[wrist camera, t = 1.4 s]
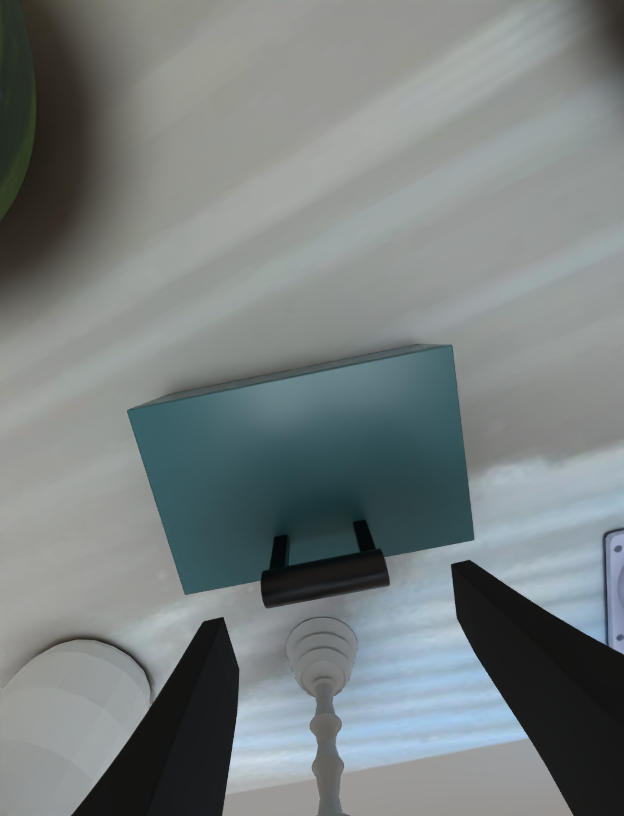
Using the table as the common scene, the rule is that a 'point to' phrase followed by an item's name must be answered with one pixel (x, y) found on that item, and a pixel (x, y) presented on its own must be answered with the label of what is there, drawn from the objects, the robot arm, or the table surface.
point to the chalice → (324, 694)
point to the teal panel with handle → (310, 476)
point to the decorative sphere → (15, 102)
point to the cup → (66, 725)
